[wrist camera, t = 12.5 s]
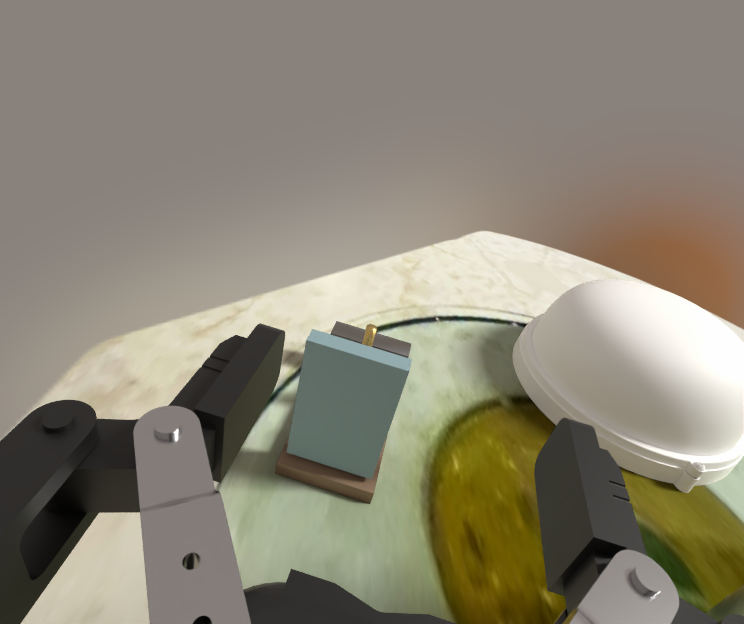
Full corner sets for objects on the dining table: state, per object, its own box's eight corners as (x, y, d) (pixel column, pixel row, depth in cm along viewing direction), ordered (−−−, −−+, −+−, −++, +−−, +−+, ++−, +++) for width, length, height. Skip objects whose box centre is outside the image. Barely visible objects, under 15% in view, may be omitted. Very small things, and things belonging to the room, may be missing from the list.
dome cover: (798, 506, 54) (898, 423, 46) (560, 480, 50) (629, 383, 42) (651, 337, 81) (700, 267, 73) (487, 310, 76) (521, 231, 68)
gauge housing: (369, 503, 42) (384, 464, 39) (274, 472, 43) (281, 432, 40) (399, 377, 57) (411, 342, 54) (329, 355, 58) (337, 320, 55)
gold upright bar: (366, 401, 49) (385, 337, 44) (338, 392, 49) (354, 328, 44) (370, 388, 50) (388, 326, 46) (343, 380, 50) (359, 317, 46)
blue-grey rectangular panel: (371, 479, 42) (409, 371, 35) (286, 452, 42) (306, 339, 35) (380, 442, 46) (416, 337, 38) (302, 417, 46) (323, 309, 39)
